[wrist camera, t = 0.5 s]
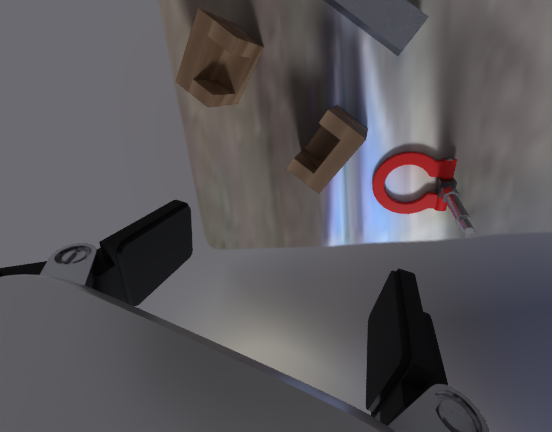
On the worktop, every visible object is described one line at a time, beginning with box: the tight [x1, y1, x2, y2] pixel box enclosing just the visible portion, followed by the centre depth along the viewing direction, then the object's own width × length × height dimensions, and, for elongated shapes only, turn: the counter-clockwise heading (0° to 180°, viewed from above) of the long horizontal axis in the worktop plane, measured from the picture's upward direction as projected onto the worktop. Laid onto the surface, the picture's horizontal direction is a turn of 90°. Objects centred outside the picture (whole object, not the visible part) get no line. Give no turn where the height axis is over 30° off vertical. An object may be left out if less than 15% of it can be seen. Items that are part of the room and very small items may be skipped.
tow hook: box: [373, 152, 475, 235], centre depth 28 cm, size 8×13×9 cm
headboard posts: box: [176, 8, 368, 194], centre depth 31 cm, size 22×8×8 cm, turn 59°
